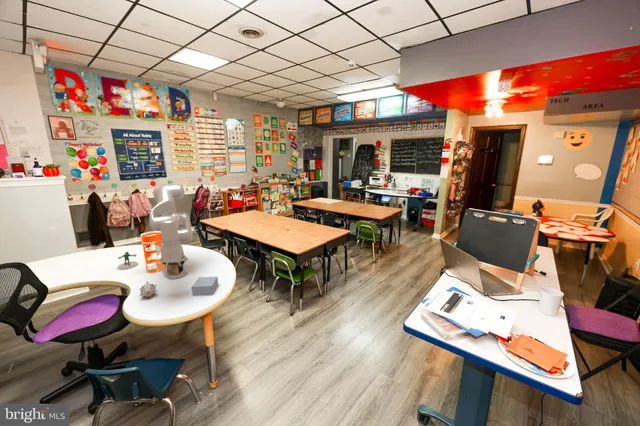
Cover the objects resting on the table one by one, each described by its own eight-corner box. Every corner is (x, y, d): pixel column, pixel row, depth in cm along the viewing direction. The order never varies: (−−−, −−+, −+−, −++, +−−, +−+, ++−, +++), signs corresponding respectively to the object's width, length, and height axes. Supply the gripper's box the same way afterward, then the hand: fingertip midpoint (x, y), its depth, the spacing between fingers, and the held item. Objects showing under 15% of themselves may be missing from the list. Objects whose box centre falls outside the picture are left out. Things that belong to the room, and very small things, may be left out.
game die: (148, 300, 144) (146, 284, 147) (162, 295, 144) (159, 278, 147) (136, 302, 136) (133, 284, 139) (150, 296, 136) (147, 278, 139)
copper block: (169, 275, 137) (167, 265, 135) (173, 271, 142) (171, 261, 140) (178, 275, 137) (177, 265, 136) (182, 270, 142) (180, 261, 141)
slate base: (192, 296, 143) (191, 286, 142) (200, 286, 154) (198, 277, 152) (212, 295, 144) (211, 286, 143) (218, 285, 155) (217, 276, 153)
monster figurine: (139, 261, 188) (137, 248, 185) (136, 267, 177) (133, 254, 175) (120, 264, 183) (117, 251, 180) (115, 271, 172) (112, 257, 170)
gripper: (150, 244, 130) (155, 276, 135) (184, 243, 132) (189, 274, 137) (157, 239, 137) (162, 269, 142) (190, 238, 139) (194, 268, 144)
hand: (175, 271), depth 139 cm, fingers closed on copper block, 4 cm apart
